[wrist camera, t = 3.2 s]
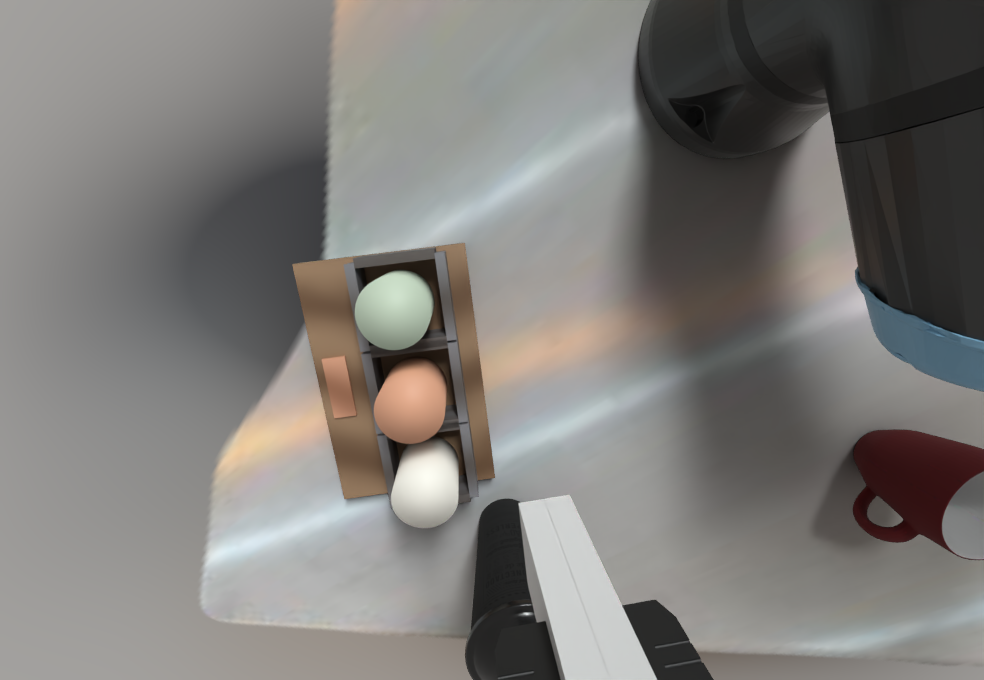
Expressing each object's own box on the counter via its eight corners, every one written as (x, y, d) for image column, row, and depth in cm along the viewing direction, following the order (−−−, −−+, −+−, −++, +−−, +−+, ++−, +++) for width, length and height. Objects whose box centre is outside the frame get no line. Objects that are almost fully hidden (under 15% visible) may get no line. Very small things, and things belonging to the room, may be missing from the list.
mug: (855, 520, 45) (965, 601, 35) (797, 483, 43) (894, 556, 33) (930, 436, 43) (1068, 496, 33) (872, 394, 41) (998, 444, 32)
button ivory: (395, 440, 35) (385, 473, 30) (454, 432, 35) (453, 464, 31) (405, 492, 36) (397, 532, 32) (462, 484, 37) (462, 523, 32)
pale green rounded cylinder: (365, 273, 32) (348, 281, 27) (429, 266, 32) (424, 272, 27) (376, 336, 33) (362, 354, 28) (439, 328, 33) (435, 345, 29)
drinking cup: (505, 468, 41) (545, 684, 21) (562, 518, 42) (648, 762, 23) (446, 523, 42) (434, 779, 22) (505, 570, 43) (541, 847, 24)
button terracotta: (381, 361, 34) (367, 382, 29) (442, 352, 34) (439, 373, 29) (391, 418, 35) (380, 448, 30) (451, 409, 35) (449, 438, 30)
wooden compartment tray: (299, 263, 35) (276, 267, 31) (464, 242, 36) (465, 244, 31) (348, 489, 40) (335, 520, 36) (493, 468, 41) (497, 497, 36)
